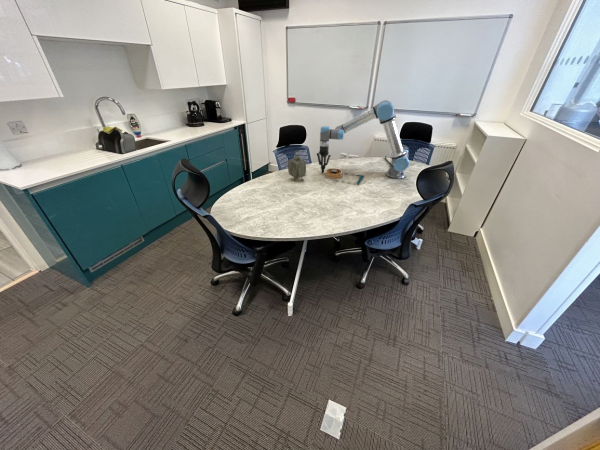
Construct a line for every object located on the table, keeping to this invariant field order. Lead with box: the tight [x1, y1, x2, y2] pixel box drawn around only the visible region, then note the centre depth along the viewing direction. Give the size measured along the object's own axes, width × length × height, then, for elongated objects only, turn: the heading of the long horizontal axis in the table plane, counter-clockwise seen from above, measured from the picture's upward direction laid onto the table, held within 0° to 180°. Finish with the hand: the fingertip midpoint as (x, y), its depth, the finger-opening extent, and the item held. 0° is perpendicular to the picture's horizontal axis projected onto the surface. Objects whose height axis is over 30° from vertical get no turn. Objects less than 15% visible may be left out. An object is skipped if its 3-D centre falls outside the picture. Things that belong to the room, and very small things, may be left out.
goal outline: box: [356, 174, 364, 186], centre depth 213 cm, size 22×22×1 cm
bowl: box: [325, 168, 343, 179], centre depth 216 cm, size 14×14×4 cm
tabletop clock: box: [287, 150, 307, 182], centre depth 203 cm, size 14×9×25 cm, turn 34°
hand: (322, 172), depth 220 cm, fingers closed
